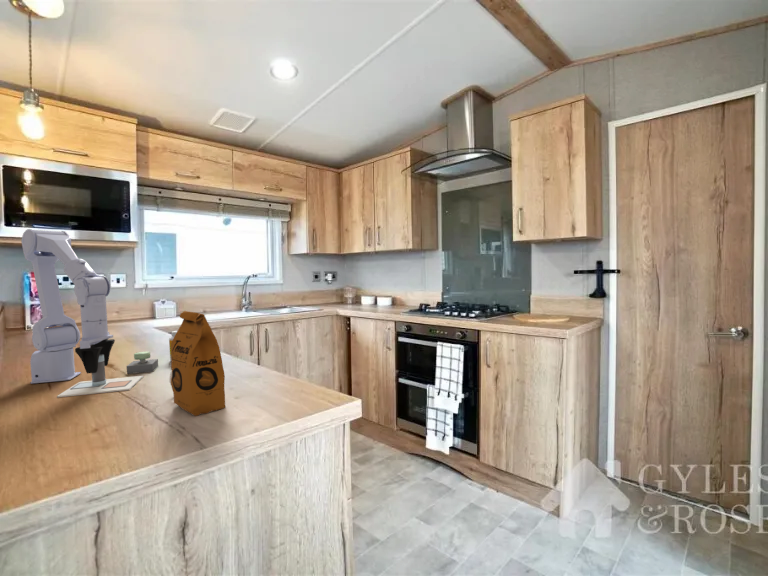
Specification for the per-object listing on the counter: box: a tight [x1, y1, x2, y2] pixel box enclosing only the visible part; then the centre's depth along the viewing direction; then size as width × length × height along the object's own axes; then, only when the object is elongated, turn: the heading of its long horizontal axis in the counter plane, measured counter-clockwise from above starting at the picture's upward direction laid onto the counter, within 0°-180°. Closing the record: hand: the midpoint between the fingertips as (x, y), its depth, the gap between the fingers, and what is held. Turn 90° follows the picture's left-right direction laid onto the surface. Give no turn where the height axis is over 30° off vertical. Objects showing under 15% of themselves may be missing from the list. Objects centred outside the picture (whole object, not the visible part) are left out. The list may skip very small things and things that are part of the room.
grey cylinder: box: [91, 354, 107, 386], centre depth 108 cm, size 3×3×8 cm
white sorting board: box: [56, 375, 145, 398], centre depth 108 cm, size 16×13×1 cm
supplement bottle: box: [168, 330, 178, 361], centre depth 137 cm, size 6×6×10 cm
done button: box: [133, 351, 151, 363], centre depth 124 cm, size 4×4×4 cm
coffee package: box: [170, 310, 226, 417], centre depth 89 cm, size 10×12×22 cm
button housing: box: [126, 358, 159, 375], centre depth 124 cm, size 7×7×2 cm
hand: (97, 369), depth 108 cm, fingers open, 7 cm apart
